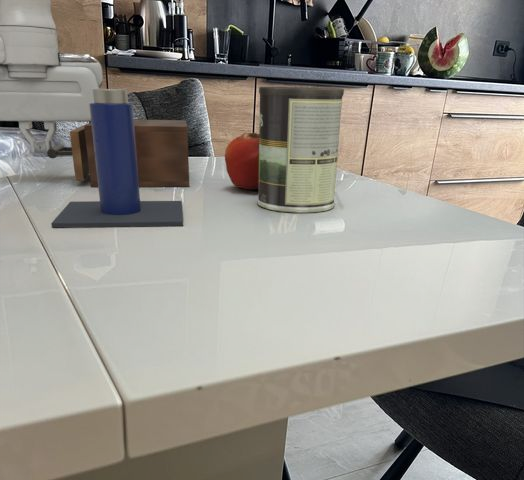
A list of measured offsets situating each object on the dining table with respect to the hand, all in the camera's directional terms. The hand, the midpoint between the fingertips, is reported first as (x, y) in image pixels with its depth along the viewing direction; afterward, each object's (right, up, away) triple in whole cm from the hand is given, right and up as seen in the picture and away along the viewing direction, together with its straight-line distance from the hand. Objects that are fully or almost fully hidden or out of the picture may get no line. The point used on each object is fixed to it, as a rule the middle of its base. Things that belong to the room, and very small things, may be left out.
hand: (42, 152), depth 85 cm
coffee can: (+39, -12, -13) cm, 43 cm away
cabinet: (+15, -3, +4) cm, 16 cm away
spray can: (+18, -14, -20) cm, 31 cm away
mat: (+18, -15, -20) cm, 31 cm away
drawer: (+10, -2, +3) cm, 11 cm away
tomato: (+33, -7, -3) cm, 34 cm away
